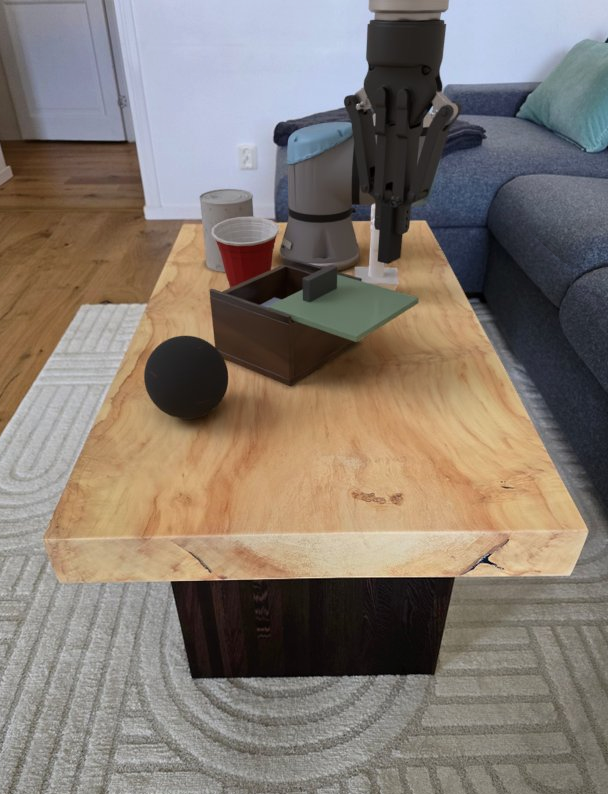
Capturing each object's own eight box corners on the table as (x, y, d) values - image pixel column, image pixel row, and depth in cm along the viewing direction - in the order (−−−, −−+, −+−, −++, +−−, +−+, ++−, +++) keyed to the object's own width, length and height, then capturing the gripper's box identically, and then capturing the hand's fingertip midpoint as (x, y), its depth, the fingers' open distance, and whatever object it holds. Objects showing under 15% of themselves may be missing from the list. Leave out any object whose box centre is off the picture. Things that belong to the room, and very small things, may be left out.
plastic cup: (210, 310, 104) (203, 236, 97) (225, 284, 113) (219, 215, 105) (275, 313, 103) (273, 239, 96) (286, 287, 111) (284, 217, 104)
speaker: (240, 395, 83) (234, 324, 77) (218, 439, 75) (210, 364, 69) (167, 388, 84) (156, 318, 78) (138, 430, 76) (123, 357, 70)
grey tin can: (233, 250, 126) (228, 186, 119) (266, 262, 121) (263, 195, 114) (195, 263, 121) (188, 196, 113) (229, 276, 116) (223, 207, 108)
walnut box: (287, 317, 101) (285, 256, 95) (358, 342, 94) (362, 278, 88) (215, 355, 91) (208, 289, 85) (290, 386, 84) (288, 317, 78)
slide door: (334, 278, 90) (335, 252, 88) (418, 303, 83) (421, 275, 81) (268, 312, 82) (267, 283, 79) (356, 342, 75) (357, 312, 72)
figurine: (395, 285, 112) (402, 197, 103) (396, 307, 104) (404, 214, 95) (354, 284, 112) (358, 196, 103) (352, 306, 105) (356, 213, 96)
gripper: (329, 16, 61) (325, 256, 75) (449, 19, 55) (421, 282, 69) (372, 14, 66) (361, 240, 80) (487, 16, 60) (454, 262, 74)
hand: (389, 259), depth 74 cm, fingers closed
